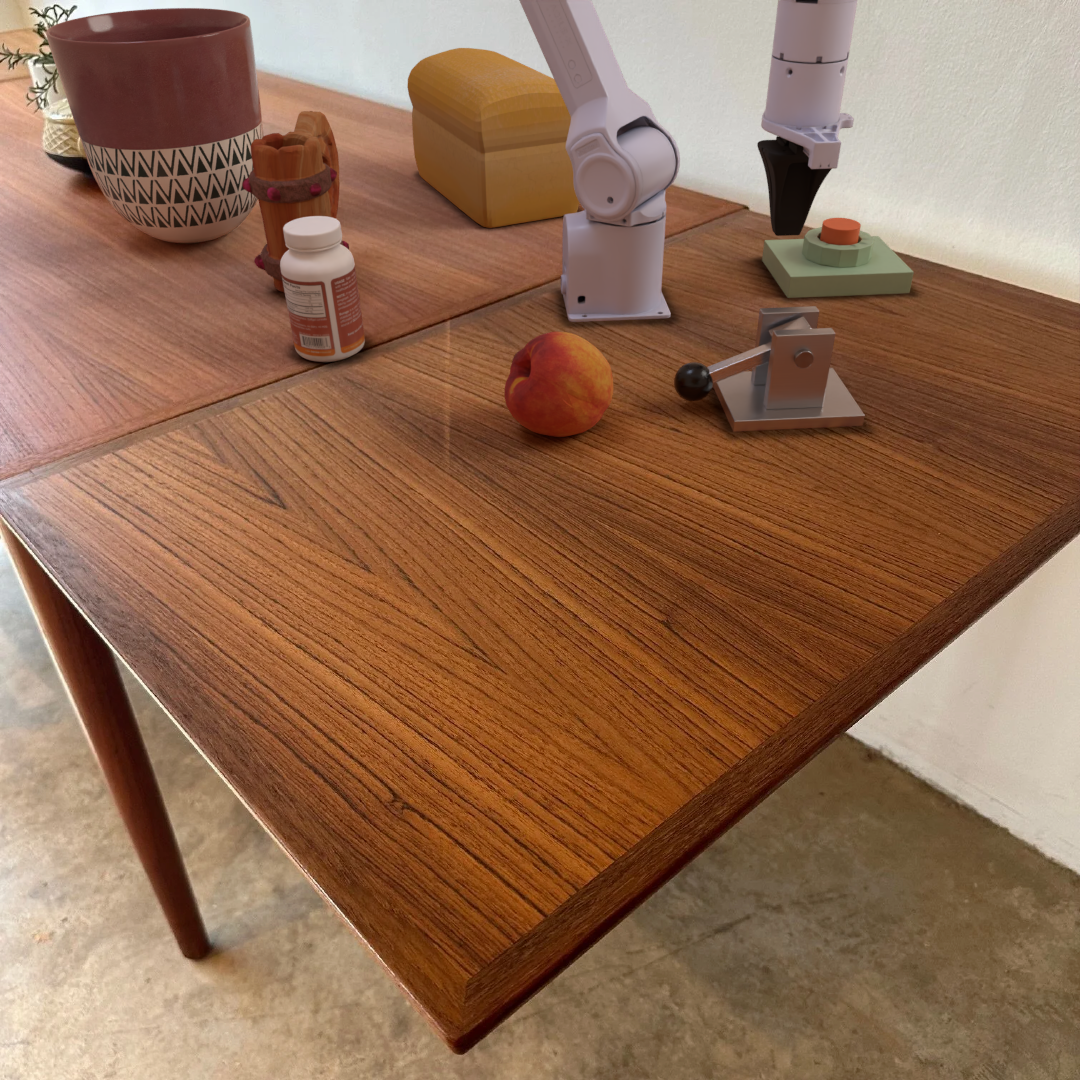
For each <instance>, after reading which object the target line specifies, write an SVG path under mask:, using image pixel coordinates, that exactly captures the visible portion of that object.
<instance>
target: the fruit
mask: <svg viewBox="0 0 1080 1080" xmlns="http://www.w3.org/2000/svg"><path fill="white" fill-rule="evenodd" d="M614 388H615V387H614V376H613V371H612V367H611V364H610V363H609V361H608V360H607V358H606V357H605V355H604V354H603V353H602V352H601V351H600V350H599V349H598V348H597V347H596V346H595V345H594V344H592V343H591V342H589V341H588V340H587V339H585V338H584V337H582V336H580V335H578V334H575V333H571V332H568V331H567V332H566V331H549V332H545V333H542V334H539V335H537V336H535V337H534V338H532V339H530V340H529V341H528V342H527V343H526V344H525V345H524V347H523V348H521V349H519V350H518V351H517V352H516V353H515V354H514V356H513V358H512V361H511V365H510V369H509V374H508V376H507V379H506V381H505V384H504V394H503V396H504V400H505V405H506V408H507V409H508V411H509V413H510V415H511V416H512V418H513V419H515V420H516V422H518V424H519V425H521V426H522V427H523V428H525V429H527V430H529V431H530V432H533V433H536V434H539V435H544V436H547V437H548V436H549V437H555V438H563V437H570V436H576V435H579V434H583V433H586V432H587V431H588V430H590V429H592V428H593V427H595V426H596V424H598V423H599V422H600V420H602V418H603V416H604V413H605V412H606V411H607V410H608V408H609V407H610V405H611V403H612V401H613V400H612V399H613V395H614Z"/></svg>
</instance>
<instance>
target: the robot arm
mask: <svg viewBox="0 0 1080 1080" xmlns="http://www.w3.org/2000/svg"><path fill="white" fill-rule="evenodd" d="M519 3H520V5H521V8H522V10H523V12H524V15H525V16H526V18H527V21H528V23H529V25H530V27H531V31H532V32H533V35H534V37H535V39H536V42H537V44H538V46H539V48H540V51H541V52H542V55H543V57H544V59H545V62H546V65H547V66H548V68H549V70H550V71H549V72H550V73H551V75H552V78H553V79H554V80H555V82H556V84H557V87H558V89H559V91H560V93H561V96H562V98H563V100H564V102H565V105H566V107H567V109H568V111H569V114H570V116H571V123H570V127H569V132H568V136H567V141H566V151H567V153H568V155H569V157H570V160H571V163H572V167H573V184H574V190H575V193H576V196H577V198H578V201H579V202H580V203H579V205H580V206H581V207H582V208H583V210H581V211H577V213H570V214H565V215H564V216H562V217H563V218H562V248H561V249H562V252H561V253H562V256H561V257H562V261H561V263H562V269H561V270H562V272H561V273H562V274H561V275H560V293H561V295H562V297H563V302H564V307H565V310H566V315H567V319H568V321H569V322H571V323H580V322H581V323H582V322H585V323H586V322H607V321H632V320H656V319H669V318H671V314H672V313H671V310H670V308H669V305H668V304H667V301H666V299H665V296H664V294H663V292H662V285H663V269H664V256H665V255H664V252H665V239H666V221H667V202H666V192H667V189H669V188H670V187H671V186H672V184H674V182H675V180H676V179H677V177H678V174H679V173H680V167H681V153H680V149H679V146H678V144H677V142H676V140H675V138H674V136H673V135H672V134H671V133H670V132H669V131H668V130H667V129H666V128H665V127H663V126H662V125H661V124H660V122H659V121H658V119H657V118H656V117H655V114H654V112H653V110H652V106H651V105H650V104H649V103H648V101H646V100H645V99H644V98H643V97H641V96H640V95H638V94H637V93H636V92H634V91H633V90H632V89H631V88H629V86H628V83H627V82H626V79H625V76H624V74H623V72H622V69H621V67H620V65H619V63H618V60H617V57H616V55H615V53H614V50H613V48H612V46H611V43H610V40H609V38H608V36H607V34H606V31H605V29H604V27H603V24H602V22H601V19H600V17H599V15H598V13H597V10H596V7H595V5H594V3H593V1H592V0H519ZM857 5H858V0H777V7H776V17H775V23H774V24H775V25H774V31H773V41H772V52H771V56H770V57H771V58H770V66H769V74H768V75H769V76H768V83H767V92H766V100H765V108H764V111H763V113H762V116H761V123H760V127H761V129H762V130H764V131H765V132H767V133H770V134H771V135H774V136H776V137H775V139H764V140H759V141H758V142H757V143H756V145H757V150H758V152H759V155H760V157H761V160H762V164H763V167H764V171H765V177H766V182H767V190H768V203H769V204H768V205H769V216H770V217H769V218H770V224H771V225H770V226H771V229H772V232H773V234H774V235H775V236H776V237H781V236H782V237H784V236H785V237H786V236H800V235H801V233H802V231H803V229H804V226H805V224H806V221H807V219H808V216H809V213H810V211H811V208H812V205H813V203H814V201H815V198H816V196H817V194H818V191H819V190H820V188H821V186H822V184H823V183H824V181H825V180H826V178H827V176H828V175H829V174H830V172H831V171H832V169H833V170H834V169H835V170H836V169H838V166H839V159H840V153H841V147H842V141H841V140H840V139H839V135H840V131H841V130H842V129H851V128H853V127H854V121H855V118H854V117H853V116H852V115H851V114H849V113H846V112H841V110H842V109H841V107H842V102H843V96H844V89H845V82H846V76H847V69H848V62H849V57H850V51H851V44H852V38H853V31H854V25H855V21H856V20H855V18H856V12H857V7H858V6H857Z"/></svg>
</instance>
